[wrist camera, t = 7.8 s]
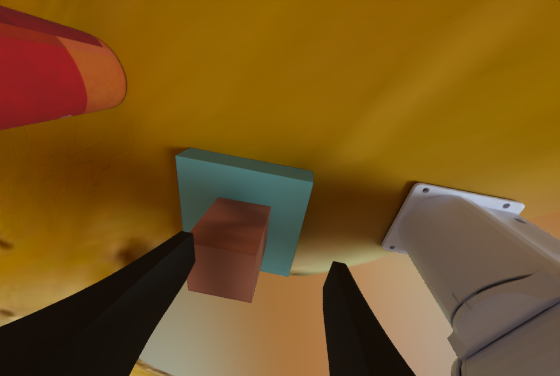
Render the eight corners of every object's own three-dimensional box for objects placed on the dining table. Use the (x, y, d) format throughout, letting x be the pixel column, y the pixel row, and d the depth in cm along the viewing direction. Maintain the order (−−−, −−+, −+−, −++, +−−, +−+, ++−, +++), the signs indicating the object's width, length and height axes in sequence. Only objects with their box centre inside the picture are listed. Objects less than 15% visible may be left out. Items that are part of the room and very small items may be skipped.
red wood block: (271, 206, 18) (256, 256, 13) (265, 246, 20) (251, 303, 15) (218, 197, 18) (181, 241, 13) (218, 238, 21) (188, 290, 15)
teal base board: (312, 169, 19) (313, 182, 16) (290, 256, 25) (288, 276, 22) (193, 146, 20) (175, 155, 17) (198, 237, 25) (185, 254, 23)
